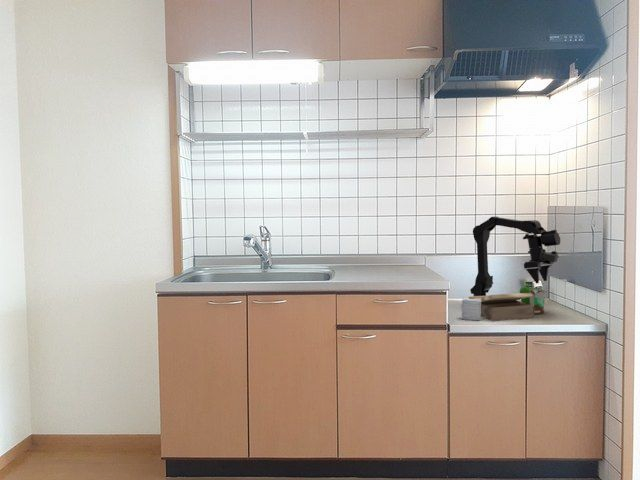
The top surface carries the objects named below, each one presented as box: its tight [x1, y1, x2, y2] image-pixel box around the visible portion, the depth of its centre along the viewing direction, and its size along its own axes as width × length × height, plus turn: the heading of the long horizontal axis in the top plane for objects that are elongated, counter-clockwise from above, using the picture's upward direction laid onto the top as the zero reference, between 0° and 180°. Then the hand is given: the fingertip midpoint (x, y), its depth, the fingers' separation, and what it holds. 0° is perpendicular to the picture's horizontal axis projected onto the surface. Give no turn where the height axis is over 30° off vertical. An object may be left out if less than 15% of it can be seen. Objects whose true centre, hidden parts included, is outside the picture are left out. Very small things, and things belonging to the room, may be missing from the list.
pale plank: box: [480, 292, 532, 303], centre depth 231 cm, size 12×20×2 cm, turn 104°
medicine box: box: [461, 298, 482, 321], centre depth 226 cm, size 8×4×9 cm, turn 71°
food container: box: [529, 288, 548, 315], centre depth 239 cm, size 12×6×10 cm, turn 168°
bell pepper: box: [519, 283, 537, 305], centre depth 259 cm, size 8×8×10 cm
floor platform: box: [468, 294, 534, 322], centre depth 235 cm, size 20×20×7 cm
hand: (541, 282), depth 233 cm, fingers open, 9 cm apart
